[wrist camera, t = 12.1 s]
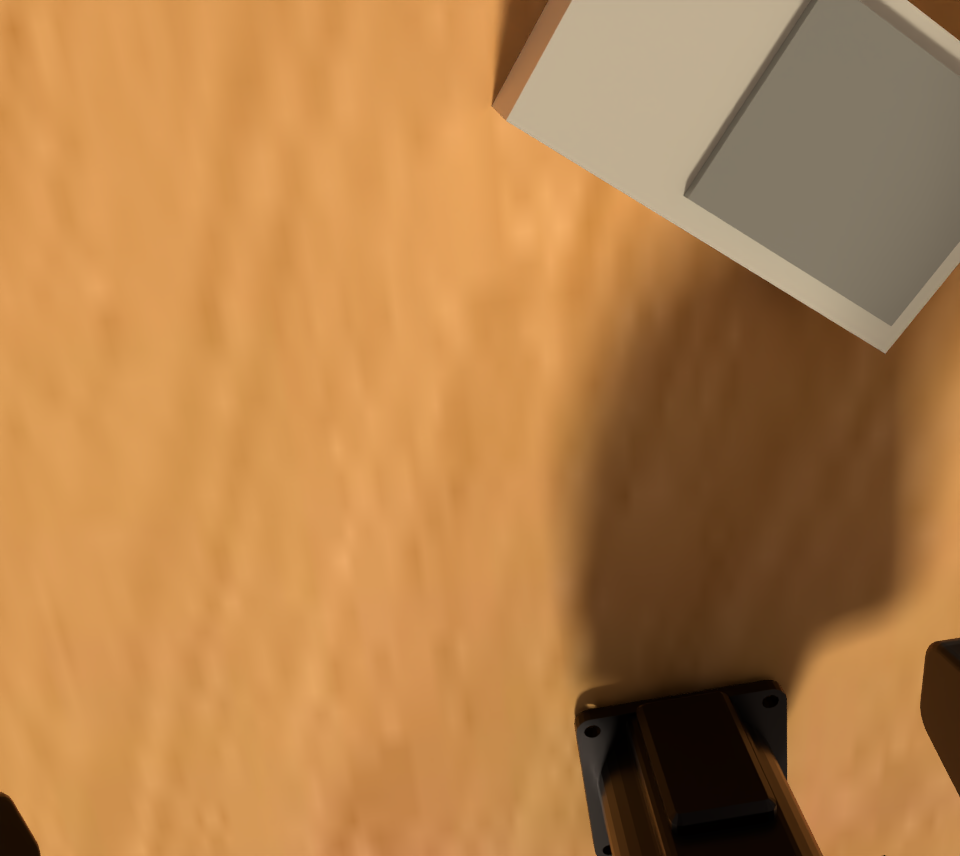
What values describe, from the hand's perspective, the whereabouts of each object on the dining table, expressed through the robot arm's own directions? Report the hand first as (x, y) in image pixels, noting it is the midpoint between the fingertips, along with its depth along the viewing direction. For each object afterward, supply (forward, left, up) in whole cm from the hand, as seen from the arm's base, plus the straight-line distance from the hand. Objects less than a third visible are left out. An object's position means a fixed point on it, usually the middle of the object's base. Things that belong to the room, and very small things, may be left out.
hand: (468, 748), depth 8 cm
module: (+4, -7, -13) cm, 15 cm away
